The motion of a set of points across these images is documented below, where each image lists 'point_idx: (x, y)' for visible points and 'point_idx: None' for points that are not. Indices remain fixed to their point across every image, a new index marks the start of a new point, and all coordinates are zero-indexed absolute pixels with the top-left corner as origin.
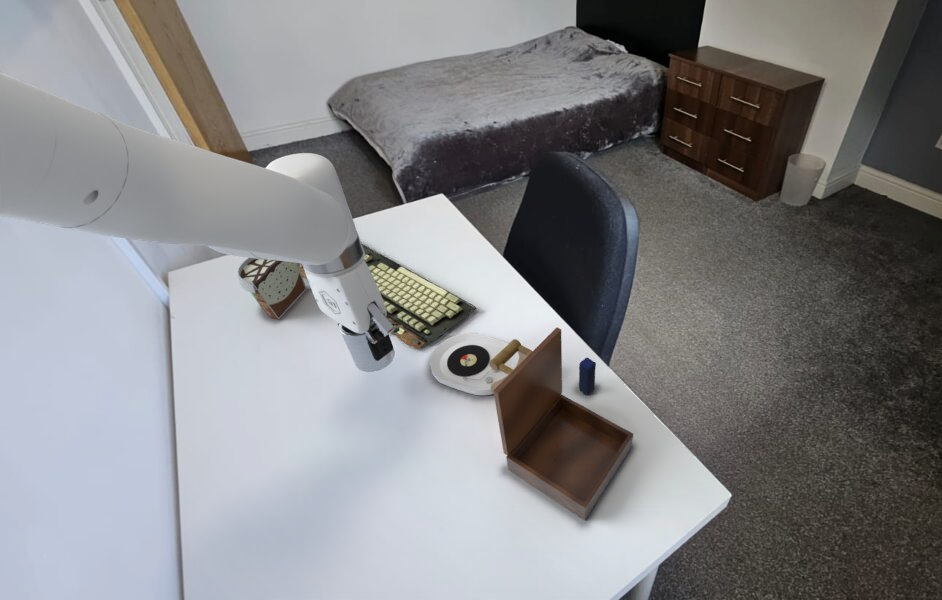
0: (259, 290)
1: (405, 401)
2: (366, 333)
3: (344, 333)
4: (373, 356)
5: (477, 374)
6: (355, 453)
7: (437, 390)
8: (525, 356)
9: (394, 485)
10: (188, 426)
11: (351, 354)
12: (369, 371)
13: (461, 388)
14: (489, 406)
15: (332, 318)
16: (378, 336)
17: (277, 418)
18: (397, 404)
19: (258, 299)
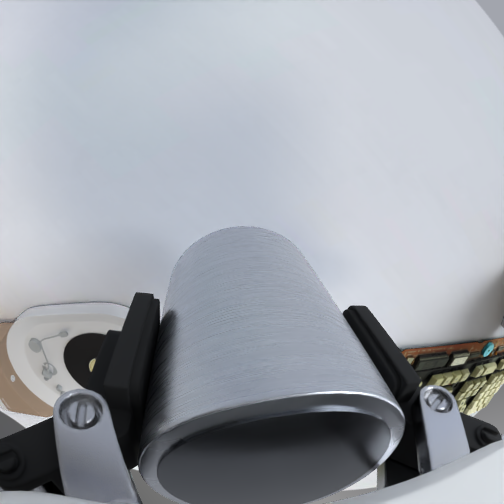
0: None
1: (137, 220)
2: (98, 466)
3: (306, 400)
4: (144, 306)
5: (63, 348)
6: (135, 43)
7: (99, 283)
8: (19, 404)
9: (16, 55)
10: (486, 18)
11: (280, 264)
12: (204, 237)
13: (53, 309)
14: (2, 295)
15: (448, 481)
16: (5, 455)
17: (392, 49)
18: (147, 203)
19: None
